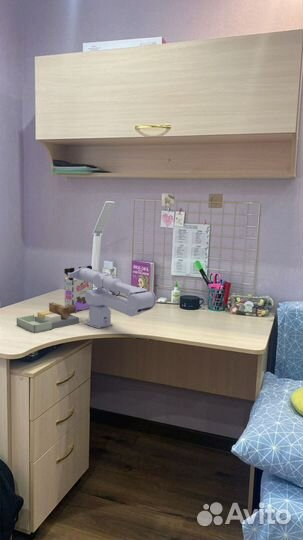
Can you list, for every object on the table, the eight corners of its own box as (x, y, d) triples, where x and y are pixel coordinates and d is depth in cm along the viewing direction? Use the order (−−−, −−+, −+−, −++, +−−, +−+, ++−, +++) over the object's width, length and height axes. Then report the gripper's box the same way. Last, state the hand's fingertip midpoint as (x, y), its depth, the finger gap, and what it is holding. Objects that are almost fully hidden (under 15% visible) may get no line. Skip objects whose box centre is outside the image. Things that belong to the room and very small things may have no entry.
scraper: (82, 314, 189) (81, 305, 188) (64, 318, 183) (64, 308, 182) (66, 309, 198) (66, 300, 197) (49, 312, 191) (49, 303, 191)
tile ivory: (61, 320, 182) (61, 315, 182) (50, 322, 179) (50, 317, 179) (54, 317, 186) (54, 313, 186) (44, 319, 182) (44, 315, 182)
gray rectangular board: (79, 323, 187) (79, 316, 187) (34, 333, 172) (34, 325, 171) (61, 316, 198) (61, 309, 197) (16, 325, 183) (16, 317, 182)
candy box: (72, 313, 204) (72, 279, 202) (64, 311, 208) (64, 277, 205) (93, 307, 215) (93, 275, 213) (85, 306, 219) (85, 274, 216)
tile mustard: (53, 317, 187) (53, 312, 186) (43, 319, 183) (43, 314, 183) (47, 315, 190) (47, 310, 190) (37, 316, 187) (37, 312, 186)
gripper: (103, 265, 191) (85, 260, 201) (76, 268, 181) (58, 262, 191) (102, 280, 193) (85, 274, 202) (75, 284, 183) (58, 278, 192)
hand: (72, 269), depth 196 cm, fingers open, 7 cm apart
